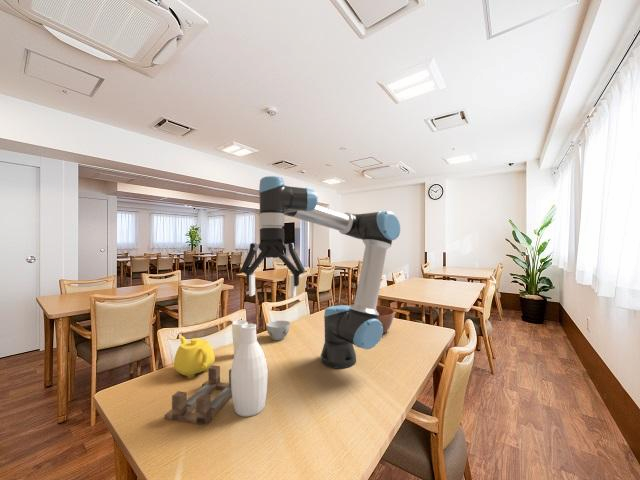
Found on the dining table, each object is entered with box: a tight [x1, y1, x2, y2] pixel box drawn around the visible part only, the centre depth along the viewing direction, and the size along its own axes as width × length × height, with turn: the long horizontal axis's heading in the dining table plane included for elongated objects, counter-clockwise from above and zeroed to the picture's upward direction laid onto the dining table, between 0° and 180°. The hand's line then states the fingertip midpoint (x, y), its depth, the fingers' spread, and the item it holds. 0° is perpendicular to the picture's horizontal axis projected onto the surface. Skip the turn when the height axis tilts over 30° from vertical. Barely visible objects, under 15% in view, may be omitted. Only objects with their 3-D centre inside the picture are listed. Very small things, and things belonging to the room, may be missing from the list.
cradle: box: [164, 365, 232, 426], centre depth 87 cm, size 14×19×7 cm
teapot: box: [173, 335, 216, 379], centre depth 108 cm, size 14×20×13 cm
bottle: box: [230, 323, 269, 417], centre depth 84 cm, size 11×11×25 cm
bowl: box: [376, 304, 395, 334], centre depth 154 cm, size 25×25×12 cm
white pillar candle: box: [231, 319, 249, 357], centre depth 122 cm, size 7×7×15 cm
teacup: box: [265, 320, 291, 341], centre depth 143 cm, size 15×12×8 cm
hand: (272, 296), depth 84 cm, fingers open, 13 cm apart
